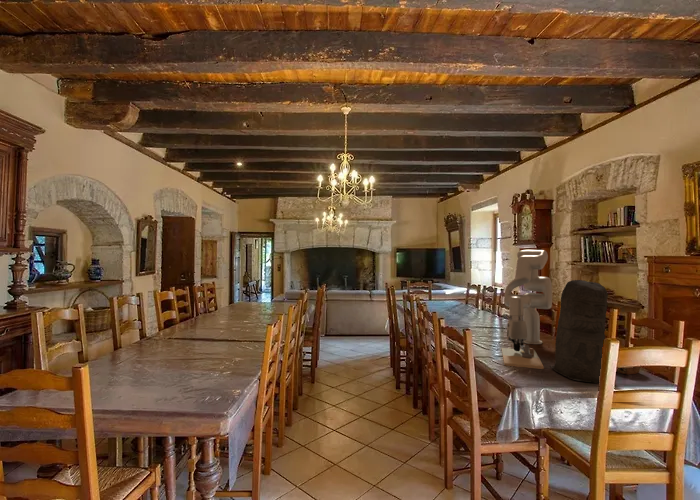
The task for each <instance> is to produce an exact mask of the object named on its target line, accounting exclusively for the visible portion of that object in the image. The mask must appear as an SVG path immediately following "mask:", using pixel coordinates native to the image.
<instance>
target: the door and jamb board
mask: <svg viewBox="0 0 700 500" xmlns="http://www.w3.org/2000/svg"><path fill="white" fill-rule="evenodd" d="M524 345H525V352H524V351H523V350H522V349H521V348H520V351H515V350H514V348H508V347H501V354H502V355H501V356H502V359H503V365H504V366H506V367H507V366H508V367H517V368H526V369H527V368H529V369H537V370H538V369H539V370H544V369H545V367H544V365H543V363H542V361H541V359H540V357H539V355H538V354H537V352H536V350H535V349H534V348H531V347H530V344H524Z"/></svg>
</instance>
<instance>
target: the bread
mask: <svg viewBox="0 0 700 500" xmlns="http://www.w3.org/2000/svg"><path fill="white" fill-rule="evenodd" d="M640 370H641V366H640V367H633V368H618V369H617V372H616V373H617V374H618V373H619V374H621V375H623V374H624V375H630V376H631V375H637V374H639V373H640Z"/></svg>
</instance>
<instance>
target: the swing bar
mask: <svg viewBox="0 0 700 500" xmlns="http://www.w3.org/2000/svg"><path fill="white" fill-rule="evenodd" d="M525 345H526V344H525V343H524V341H522V342H521V344H520V349H522V350H523V351H524V352H525Z"/></svg>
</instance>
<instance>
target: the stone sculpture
mask: <svg viewBox="0 0 700 500" xmlns="http://www.w3.org/2000/svg"><path fill="white" fill-rule="evenodd" d="M608 298H609V293H608V291H607V289H606V287H605V286H604V285H602V284H601V283H599V282H593V281H586V280H584V279H583V280H582V279H574V280H573V279H572V280H570V281H568V282H566V284H565V286H564V287H563V289H562V292H561V297H560V310H559V314H558V315H559V317H558V320H557V328H556V336H555V344H554V345H555V351H554V352H555V353H554V354H555V355H554V356H555V358H554V365H549V367H550V368H551V369H552V370H554V371H555V372H557V373H558V374H560V375H561V376H564V377H566V378H568V379H570V380H573V381H577V382H584V383H585V382H586V383H592V384H595V383H597V384H599V383H600V382H599V376H600V369H601V358H602V347H603V340H604V339H605V340H606V335H605V332H606V319H607V310H608Z"/></svg>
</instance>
